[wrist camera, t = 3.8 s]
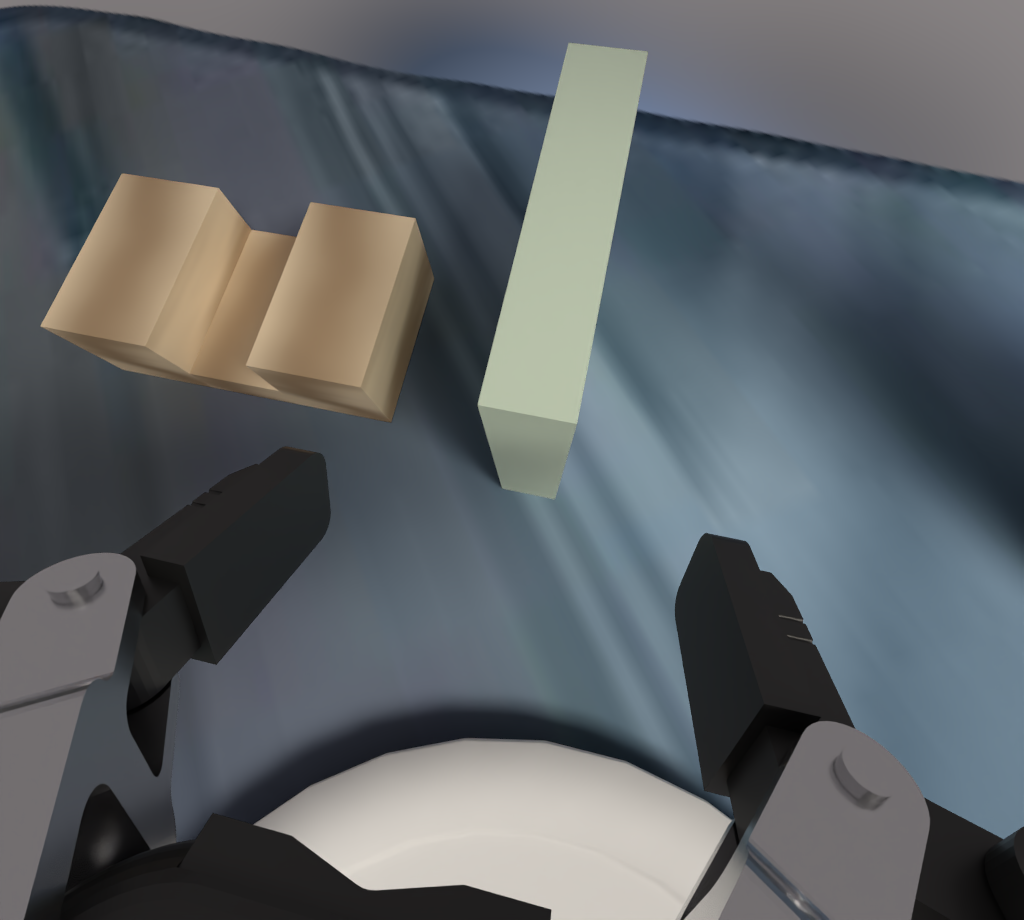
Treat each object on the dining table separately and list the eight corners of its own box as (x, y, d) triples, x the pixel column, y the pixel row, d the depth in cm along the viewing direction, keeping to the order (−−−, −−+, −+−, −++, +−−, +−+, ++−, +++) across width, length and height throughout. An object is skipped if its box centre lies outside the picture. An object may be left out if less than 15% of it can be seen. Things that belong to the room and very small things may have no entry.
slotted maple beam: (434, 278, 24) (415, 218, 20) (391, 422, 22) (360, 387, 18) (185, 237, 25) (122, 173, 21) (123, 369, 23) (40, 326, 19)
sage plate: (599, 271, 23) (648, 51, 14) (554, 499, 20) (576, 424, 11) (553, 264, 24) (569, 42, 14) (502, 488, 21) (477, 405, 11)
